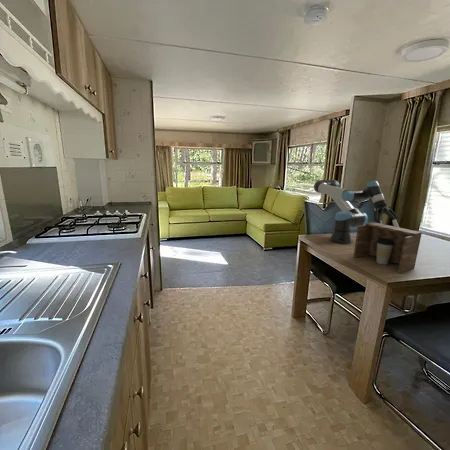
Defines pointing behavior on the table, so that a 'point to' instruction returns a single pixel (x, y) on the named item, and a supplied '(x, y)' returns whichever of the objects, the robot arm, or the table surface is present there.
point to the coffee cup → (384, 250)
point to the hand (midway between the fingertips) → (390, 229)
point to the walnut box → (401, 250)
